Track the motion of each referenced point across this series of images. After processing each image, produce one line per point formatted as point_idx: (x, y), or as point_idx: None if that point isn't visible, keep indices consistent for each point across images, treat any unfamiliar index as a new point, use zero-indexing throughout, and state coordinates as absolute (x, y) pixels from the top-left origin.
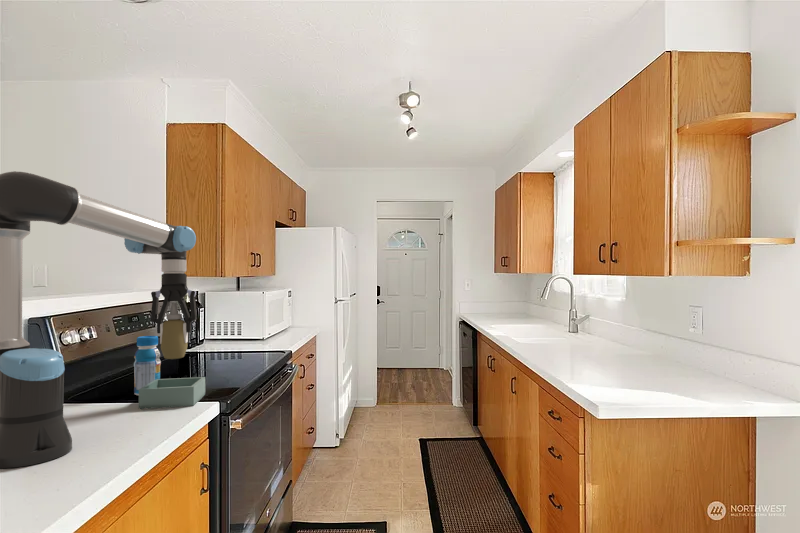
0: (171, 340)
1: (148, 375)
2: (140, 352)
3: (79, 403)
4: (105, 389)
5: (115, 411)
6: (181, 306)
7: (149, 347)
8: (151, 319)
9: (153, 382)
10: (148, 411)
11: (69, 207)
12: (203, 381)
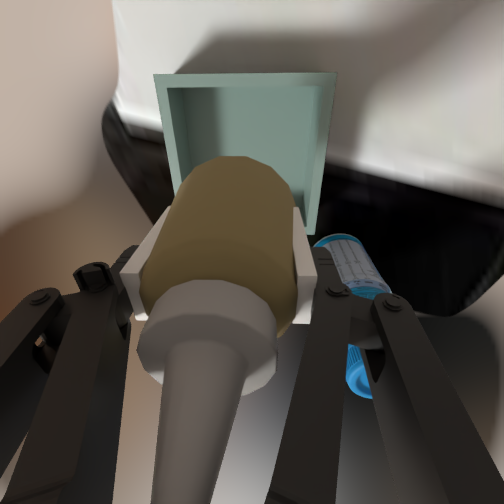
0: (224, 173)
1: (340, 262)
2: None
3: (483, 190)
4: (429, 309)
5: (386, 57)
6: (68, 431)
7: None
8: (404, 307)
9: (311, 189)
10: (287, 28)
11: None
12: None
